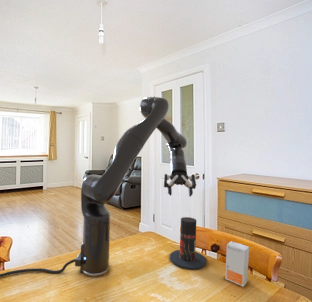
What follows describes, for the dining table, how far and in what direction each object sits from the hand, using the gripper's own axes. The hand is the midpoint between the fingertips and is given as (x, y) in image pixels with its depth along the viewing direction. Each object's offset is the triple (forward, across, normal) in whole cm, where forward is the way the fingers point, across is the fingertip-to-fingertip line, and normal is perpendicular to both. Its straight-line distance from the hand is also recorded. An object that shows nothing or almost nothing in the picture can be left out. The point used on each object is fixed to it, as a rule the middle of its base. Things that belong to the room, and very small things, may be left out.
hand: (180, 195), depth 98 cm
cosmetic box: (+32, +16, +1) cm, 36 cm away
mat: (+24, +2, +9) cm, 26 cm away
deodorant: (+23, +2, +9) cm, 25 cm away
